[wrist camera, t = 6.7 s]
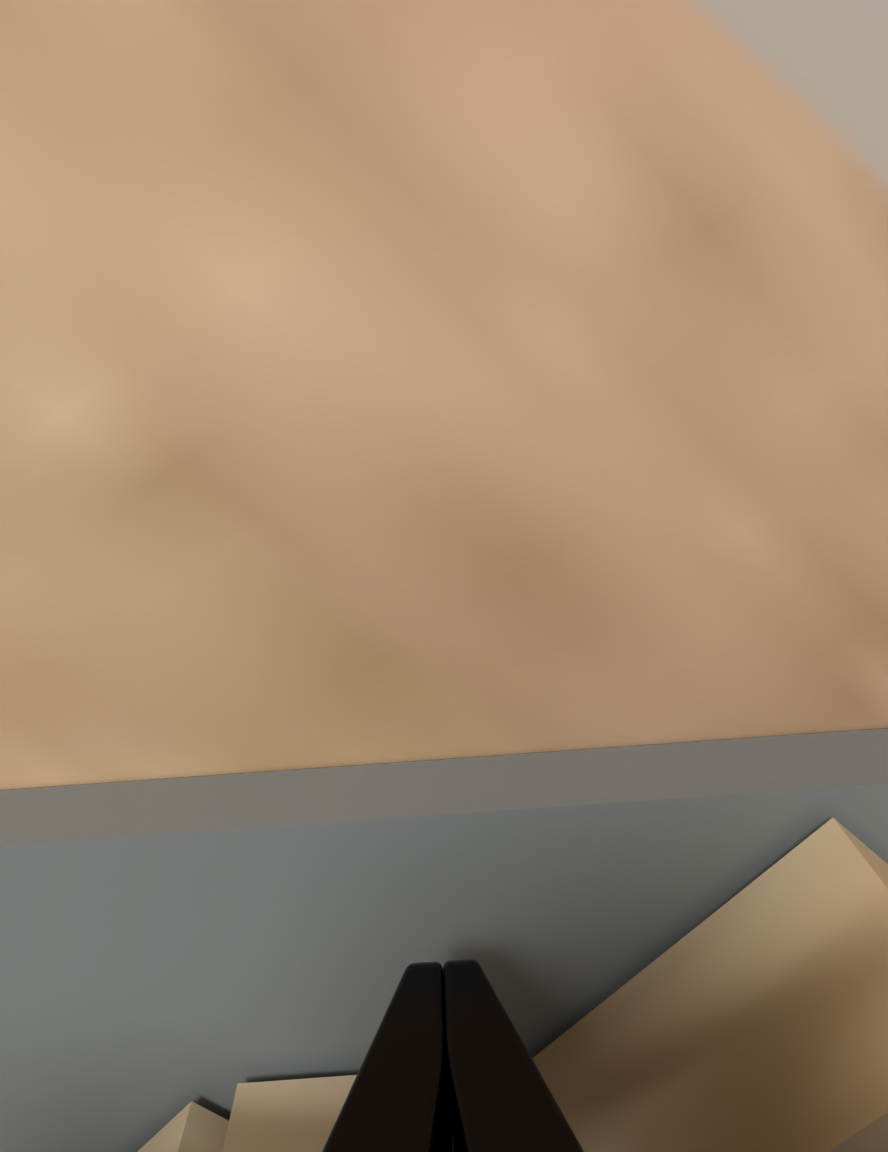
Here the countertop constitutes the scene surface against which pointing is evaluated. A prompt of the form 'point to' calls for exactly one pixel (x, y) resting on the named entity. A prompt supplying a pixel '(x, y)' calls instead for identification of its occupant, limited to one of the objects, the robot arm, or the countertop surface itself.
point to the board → (364, 907)
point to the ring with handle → (690, 1034)
